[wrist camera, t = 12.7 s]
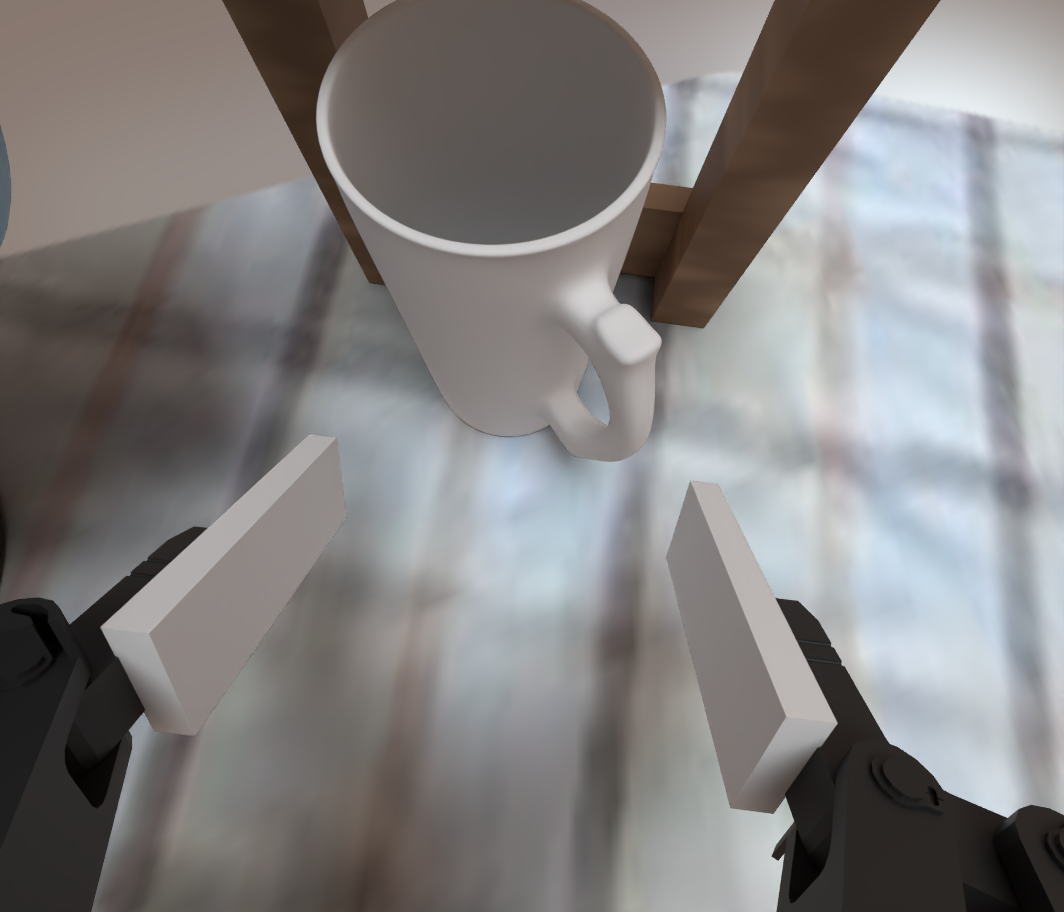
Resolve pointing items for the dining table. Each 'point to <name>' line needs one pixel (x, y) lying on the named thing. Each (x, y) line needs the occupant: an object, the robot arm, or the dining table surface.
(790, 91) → the brown wooden frame
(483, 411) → the mug
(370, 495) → the dining table surface
